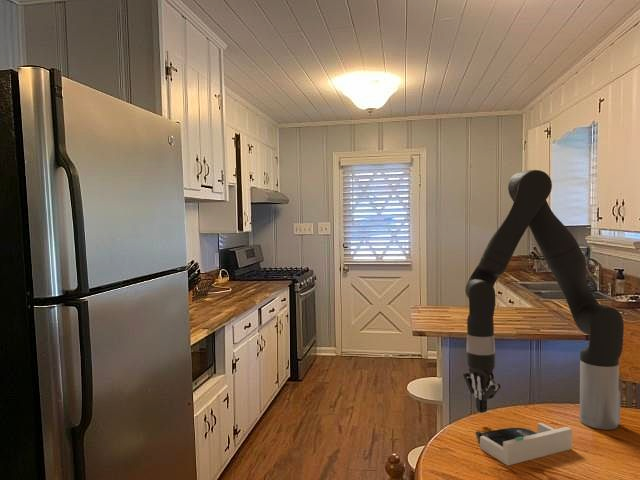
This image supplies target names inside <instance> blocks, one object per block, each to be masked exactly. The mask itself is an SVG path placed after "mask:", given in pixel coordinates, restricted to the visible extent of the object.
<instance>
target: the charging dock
mask: <svg viewBox="0 0 640 480" xmlns="http://www.w3.org/2000/svg"><path fill="white" fill-rule="evenodd" d="M572 430H573V429H572V428H570V427H568V426H563V427H559V428H553V427H552V426H549V425H547V424H544V422H538V423H537V433H538V434H533V435H529V436H525V437H522V436H521V437H517V438H515V439H512V440H508V441H504V442H503V447H502V446H501V445H499V444H497V443H496V442H494V441H492V440H490V439H489V438H487V437H485V436H480V441H479V449H480V450H482V451H483V452H486V453H487V454H488V455H489V456H492V457H493V458H495V459H497V460H498V461H499V462H501V463H502V464H505V465H506V466H512V465H515V464H519V463H522V462H527V461H530V460H531V461H532V460H534V459H539V458H542V457H545V456H550V455H553V454H558V453H562V452H565V451H569V450H572V439H573V438H572V435H573V434H572Z"/></svg>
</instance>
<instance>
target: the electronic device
mask: <svg viewBox="0 0 640 480" xmlns="http://www.w3.org/2000/svg"><path fill="white" fill-rule="evenodd" d="M533 434H538V431H537V432H536V431H533V430H531V429H529V428H528V429H527V428H524V427H509V428H499V429H494V430H488V431H485V432H481V431H480V430H476V431H475V435H476V438H477V439H476V440H477V442H480V436H485V437H487V438H489V439H490V440H492V441H494V442H496V443H497V444H499V445H501V446H502V447H503V442H504V441H508V440H512V439H515V438H517V437H521V436H522V437H525V436H529V435H533Z"/></svg>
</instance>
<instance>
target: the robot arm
mask: <svg viewBox="0 0 640 480" xmlns="http://www.w3.org/2000/svg"><path fill="white" fill-rule="evenodd" d="M507 185H508V186H507V190H508V194H509V197H510V199H511V200H512V201H513V203H512V206H511V208H510V210H509V212H508V214H507V215H506V217H505V219H504V220H503V222H502V223H501V224H500V226H499V227H498V228H497V229H496V231H495V232H494V233H493V235H492V237H491V238H490V240H489V241H488V243H487V245H486V247H485V249H484V252H483V253H482V256H481V258H480V260H479V263H478V265H477V266H476V267H475V269H474V270H473V272H472V273H471V275H470V277H469V279H468V281H467V283H466V286H465V295H466V297H467V298H468V302H469V303H468V308H469V309H468V313H469V314H468V315H467V321H466V323H467V324H466V325H467V327H466V331H467V332H466V333H467V336H466V366H467V367H468V371H467V372H465V373H463V375H462V377H463V378H464V380H465V383H466V385H467V387H468V389H469V391H470V393H471V394H473V396H474V397H475V406H476V411H477V412H479V413H481V414H482V413H486V412H487V410H488V400H490V399H493V398H494V397H495V395H496V394H497V393H498V391H500V389H501V387H502V386H501V384H500V383H496V381H495V380H494V379H495V376H494V373H493V371H494V369H495V368H496V343H495V331H494V330H495V327H494V326H495V325H494V315H495V307H496V291H495V288H494V286H495V284H496V282H497V280H498V279H499V277H500V276H502V275H503V274H504V272H506V269H507V267H508V265H509V263H510V261H511V259H512V258H513V255H514V254H515V250H516V249H517V247H518V245H519V243H520V241H521V240H522V237H523V235H524V234H525V232H526V230H527V229H528V227H529V229H530V231H531V234H532V235H533V237H534V240H535V241H536V243H537V245H538V247H539V250H540V252H541V254H542V256H543V258H544V260H545V262H546V264H547V266H548V268H549V269H550V271H551V273H552V275H553V277H554V278H555V280H556V283H557V284H558V287H559V288H560V289H561V292H562V293H563V296H564V298H565V301H566V303H567V305H568V307H569V308H568V309H569V312H570V314H571V316H572V319H573V322H574V323H575V325H576V327H577V328H578V329H579V330H580V331H581V332H582V333H584V334H586V335H588V336H589V341H588V342H589V344H588V347H585V348H582V349H581V350H580V351H579V421H580V423H582V424H584V425H585V426H587V427H589V428H594V429H598V430H606V431H608V430H609V431H610V430H615V429H617V428H619V425H620V424H621V390H620V389H619V377H620V376H619V365H620V364H619V361H620V358H621V356H622V353H623V345H624V329H625V327H624V320H623V319H624V318H623V315H622V314H621V312H620V311H619V310H617V309H616V308H614V307H611V306H609V305H604V304H600V303H599V301H597V299H596V297H595V296H594V294H593V292H592V290H591V288H590V286H589V283H588V278H587V262H586V257H585V256H584V252H583V251H582V249H581V247H580V245H579V243H578V241H577V238H575V236H574V235H573V234H572V232H570V230H569V229H568V228H567V226H566V225H565V224H564V223H563V222H562V221H561V220H560V219H559V218H558V217H557V216H556V215H555V213H554V211H552V209H551V207H550V205H549V202H548V201H547V200H548V197H549V196H550V194H551V192H552V187H553V183H552V179H551V177H550V176H549V174H548V173H546V172H545V171H543V170H541V169H540V170H539V169H531V170H530V169H529V170H525V171H524V170H523V171H519V172H517V173H515V174H513V175H512V176H511V178H510V179H509V182H508V184H507Z"/></svg>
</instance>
